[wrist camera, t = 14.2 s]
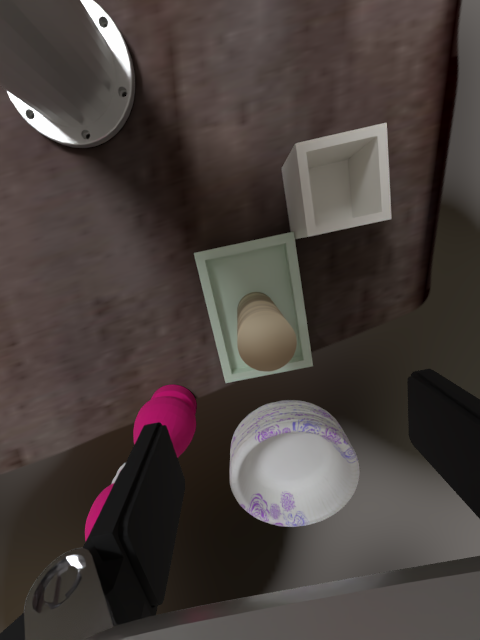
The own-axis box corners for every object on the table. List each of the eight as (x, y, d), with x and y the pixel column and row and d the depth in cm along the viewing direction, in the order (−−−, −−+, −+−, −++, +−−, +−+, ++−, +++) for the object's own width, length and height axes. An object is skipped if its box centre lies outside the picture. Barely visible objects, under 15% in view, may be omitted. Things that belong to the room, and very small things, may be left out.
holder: (281, 168, 28) (295, 143, 22) (350, 153, 28) (386, 122, 21) (291, 239, 30) (307, 236, 24) (356, 225, 30) (391, 219, 23)
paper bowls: (233, 479, 39) (233, 534, 32) (227, 389, 36) (224, 428, 28) (334, 473, 39) (358, 527, 32) (338, 383, 36) (366, 420, 28)
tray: (196, 252, 31) (193, 253, 28) (289, 233, 30) (293, 231, 28) (226, 374, 35) (225, 383, 32) (307, 358, 34) (313, 366, 32)
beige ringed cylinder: (233, 296, 31) (231, 322, 19) (271, 288, 31) (291, 309, 19) (241, 331, 32) (243, 376, 20) (277, 324, 32) (300, 365, 20)
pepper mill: (202, 383, 35) (161, 546, 16) (198, 428, 37) (157, 624, 18) (148, 378, 35) (39, 537, 16) (147, 424, 37) (48, 618, 17)
